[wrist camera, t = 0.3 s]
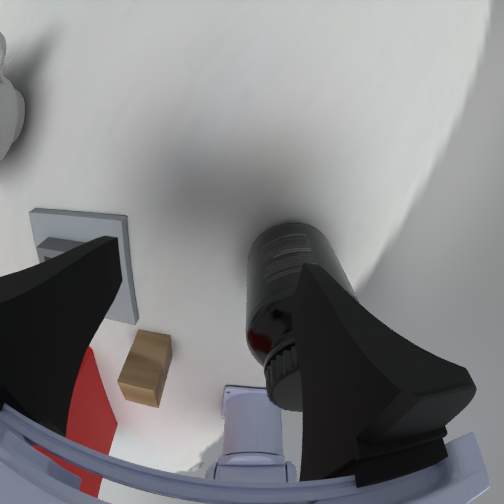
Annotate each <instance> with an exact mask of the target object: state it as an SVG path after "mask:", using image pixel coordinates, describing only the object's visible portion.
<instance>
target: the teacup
mask: <svg viewBox="0 0 504 504" xmlns="http://www.w3.org/2000/svg"><path fill="white" fill-rule="evenodd" d="M5 54H6V40H5V38H4V36H3V35H2V34H1V32H0V162H1V160H2V159H3V158H4V157H5V155H6V153H7V152H8V150H9V148H10V146H11V144H12V143H14V142H15V141H16V140H17V138H18V137H19V135H20V133H21V131H22V128H23V124H24V119H25V102H24V98H23V96H22V94H21V93H20V92H19V91H18V90H16V89H14V87H13V85H12V84H11V82H10V81H9V80H8V79H7V78H6V77H4V76H3V74H2V65H3V61H4V58H5Z"/></svg>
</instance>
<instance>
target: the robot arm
mask: <svg viewBox="0 0 504 504" xmlns="http://www.w3.org/2000/svg"><path fill="white" fill-rule="evenodd" d="M122 281H123V278H122V271H121V263H120V254H119V244H118V237H112V236H102V237H99V238H96V239H93V240H91V241H89V242H86V243H84V244H82V245H80V246H77V247H75V248H73V249H71V250H69V251H67V252H65V253H62V254H60V255H58V256H56V257H53V258H51V259H49V260H47V261H45V262H42V263H40V264H38V265H35V266H32V267H30V268H27V269H24V270H22V271H19V272H15V273H12V274H8V275H5V276H2V277H0V504H111V503H108V502H105V501H103V500H100V499H98V498H95V497H93V496H90V495H88V494H86V493H83V492H81V491H80V484H81V481H82V480H81V478H80V477H78V476H77V475H75V474H73V473H71V472H69V471H68V470H66V469H64V468H63V467H61V466H60V465H58V464H57V463H56V462H54V461H53V460H52V459H51V458H49V457H47V456H46V455H44V454H42V453H41V452H39V451H38V450H36V449H35V447H34V445H36V446H37V447H39V448H41V449H42V450H44V451H46V452H48V453H50V454H52V455H53V456H55V457H57V458H59V459H61V460H63V461H65V462H67V463H69V464H71V465H74V466H76V467H78V468H80V469H83V470H85V471H87V472H90V473H92V474H95V475H97V476H100V477H102V478H105V479H108V480H110V481H113V482H117V483H119V484H122V485H125V486H129V487H132V488H135V489H139V490H143V491H146V492H150V493H154V494H158V495H162V496H167V497H172V498H177V499H183V500H188V501H195V502H202V503H206V504H467V503H469V502H470V501H472V500H473V499H475V498H476V497H477V496H479V495H480V494H482V493H483V492H484V491H486V490H487V489H489V488H490V486H491V483H490V480H489V476H488V473H487V469H486V466H485V463H484V460H483V457H482V454H481V451H480V448H479V445H478V442H477V439H476V437H475V434H474V432H470V433H468V434H465V435H463V436H461V437H459V438H456V439H454V440H452V441H450V442H448V443H447V444H444V441H443V437H445V436H446V435H447V430H446V427H445V425H446V424H447V423H448V422H450V421H451V420H452V419H453V418H454V417H455V416H456V415H458V414H459V413H460V412H461V411H462V410H463V409H464V408H465V407H466V406H467V405H468V404H469V402H470V401H471V400H472V399H473V397H474V395H475V393H476V386H475V384H474V382H473V380H472V378H471V376H470V374H469V373H468V371H467V369H466V368H464V367H462V366H459V365H457V364H454V363H452V362H449V361H447V360H444V359H442V358H440V357H437V356H435V355H434V354H432V353H430V352H428V351H426V350H424V349H422V348H420V347H418V346H417V345H414V344H413V343H411V342H410V341H408V340H407V339H405V338H404V337H402V336H400V335H399V334H397V333H396V332H394V331H393V330H391V329H390V328H389V327H387V326H386V325H385V324H383V323H382V322H381V321H379V320H378V319H377V318H376V317H374V316H373V315H372V314H371V313H369V312H368V311H367V310H366V309H365V308H364V307H363V306H362V305H360V304H359V303H358V302H357V301H356V300H355V299H354V298H353V297H352V296H351V295H350V294H349V293H348V292H347V291H346V290H345V289H344V288H343V287H342V286H341V285H340V284H339V283H338V282H337V281H336V280H335V279H334V278H333V277H332V276H331V275H330V274H329V273H328V272H327V271H326V270H324V269H323V268H322V267H321V266H320V265H318V264H311V263H303V265H302V269H301V273H300V276H299V280H298V283H297V287H296V290H295V293H294V297H293V300H292V303H291V316H292V330H293V335H294V341H295V347H296V352H297V358H298V363H299V369H300V375H301V383H302V404H303V438H302V459H301V472H300V481H299V482H297V471H296V466H295V465H294V464H293V463H292V462H291V461H287V462H286V464H285V456H284V455H283V442H282V422H281V409H282V408H278V406H276V405H273V403H272V402H270V401H269V398H268V397H267V391H266V389H255V388H243V387H232V386H226V387H225V391H224V400H223V409H222V419H225V424H224V436H223V449H222V456H219V457H218V462H213V463H212V464H211V465H210V466H208V468H207V471H206V475H205V478H199V477H192V476H185V475H180V474H175V473H170V472H165V471H161V470H157V469H152V468H148V467H145V466H141V465H137V464H134V463H130V462H127V461H124V460H121V459H118V458H115V457H112V456H109V455H106V454H103V453H100V452H98V451H95V450H93V449H90V448H88V447H85V446H83V445H80V444H78V443H76V442H73V441H71V440H69V439H67V438H65V436H66V430H67V422H68V415H69V409H70V404H71V399H72V395H73V390H74V386H75V383H76V380H77V376H78V373H79V370H80V367H81V364H82V361H83V359H84V356H85V353H86V351H87V348H88V346H89V344H90V342H91V340H92V338H93V337H94V335H95V333H96V331H97V329H98V328H99V326H100V324H101V322H102V321H103V319H104V317H105V316H106V314H107V312H108V310H109V309H110V307H111V305H112V304H113V302H114V300H115V298H116V295H117V293H118V291H119V288H120V286H121V284H122ZM33 444H34V445H33Z"/></svg>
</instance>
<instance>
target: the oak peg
mask: <svg viewBox="0 0 504 504" xmlns="http://www.w3.org/2000/svg"><path fill="white" fill-rule="evenodd" d="M171 359H172V348H171V339H170V335H165V334H159V333H154V332H149V331H144V330H139V331H138V333H137V335H136V337H135V340H134V342H133V344H132V347H131V349H130V351H129V354H128V356H127V359H126V361H125V364H124V366H123V368H122V371H121V373H120V376H119V379H118V381H117V382H118V384H119V386H120V389H121V391H122V393H123V395H124V397H125V399H126V400H128V401H132V402H136V403H140V404H144V405H148V406H152V407H157V408H159V404H160V400H161V397H162V393H163V389H164V385H165V381H166V378H167V374H168V370H169V366H170V363H171Z"/></svg>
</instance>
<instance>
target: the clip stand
mask: <svg viewBox="0 0 504 504" xmlns="http://www.w3.org/2000/svg"><path fill="white" fill-rule="evenodd" d="M29 217H30V222H31V228H32V233H33V237H34V242H35V246H36V250H37V254H38V258H39V262H40V263H42V262H45V261H47V260H49V259H51V258H53V257H56V256H58V255H60V254H62V253H65V252H67V251H69V250H71V249H73V248H75V247H77V246H80V245H82V244H84V243H86V242H89V241H91V240H93V239H96V238H99V237H102V236H112V237H118V244H119V254H120V263H121V271H122V278H123V281H122V284H121V286H120V288H119V291H118V293H117V295H116V298H115V300H114V302H113V304H112V305H111V307H110V309H109V310H108V312H107V314H106V316H105V317H104V318H106V319H111V320H115V321H119V322H124V323H129V324H133V325H136V323H137V321H138V319H139V317H138V311H137V305H136V299H135V292H134V286H133V278H132V270H131V262H130V252H129V241H128V228H127V216H121V215H110V214H99V213H88V212H76V211H63V210H51V209H37V208H35V209H33V210H32V211H30V212H29Z"/></svg>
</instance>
